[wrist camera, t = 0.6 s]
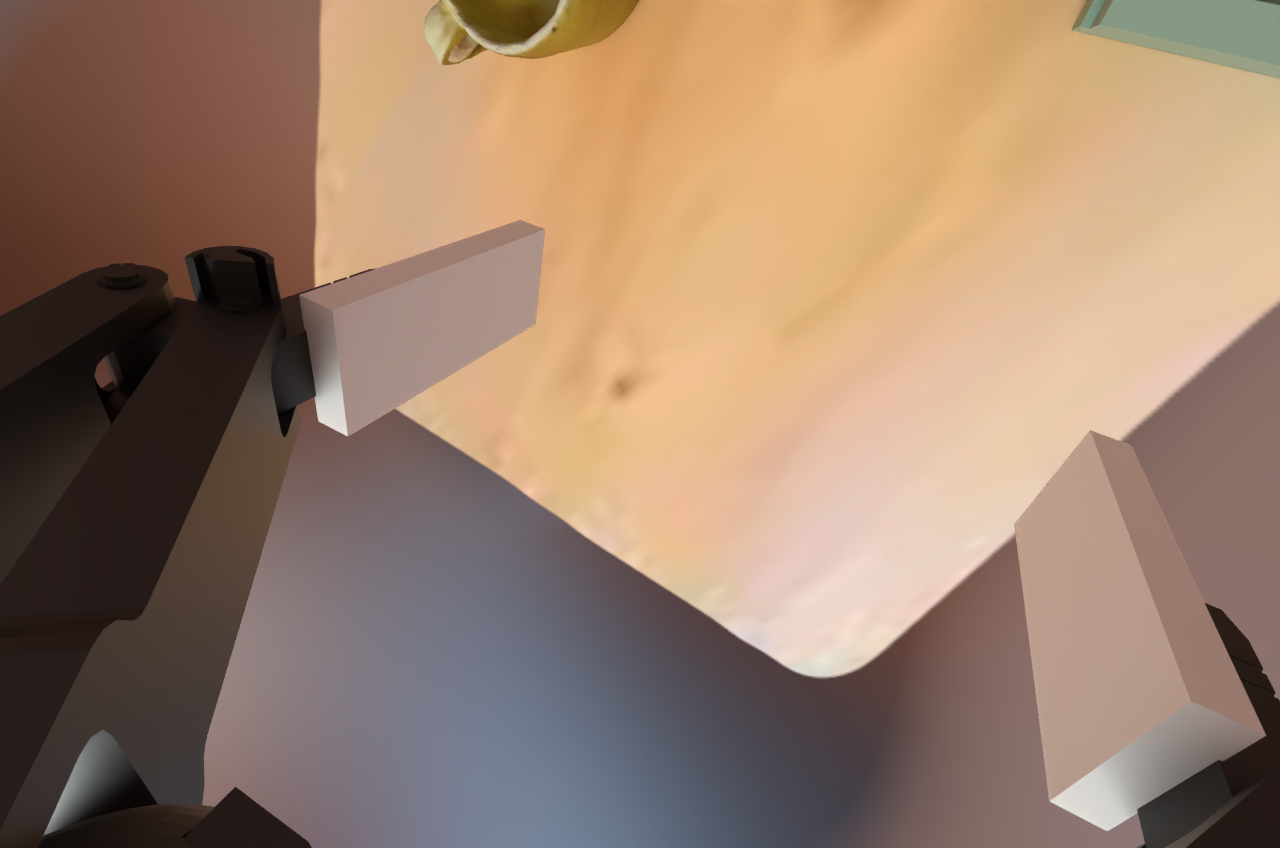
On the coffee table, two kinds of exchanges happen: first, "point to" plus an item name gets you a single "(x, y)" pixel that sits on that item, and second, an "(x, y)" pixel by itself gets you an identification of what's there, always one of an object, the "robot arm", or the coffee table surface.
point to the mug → (520, 26)
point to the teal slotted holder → (1193, 29)
